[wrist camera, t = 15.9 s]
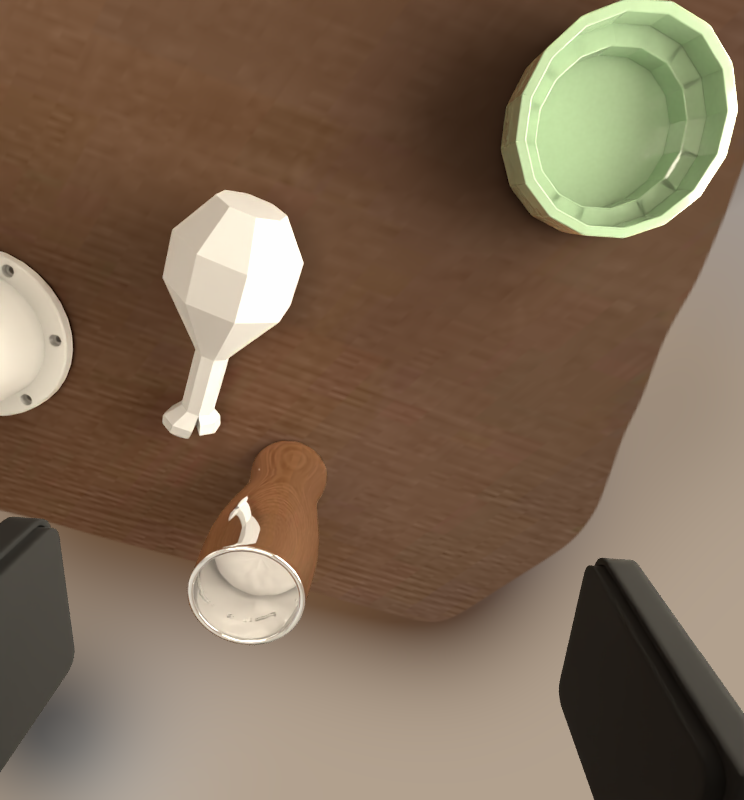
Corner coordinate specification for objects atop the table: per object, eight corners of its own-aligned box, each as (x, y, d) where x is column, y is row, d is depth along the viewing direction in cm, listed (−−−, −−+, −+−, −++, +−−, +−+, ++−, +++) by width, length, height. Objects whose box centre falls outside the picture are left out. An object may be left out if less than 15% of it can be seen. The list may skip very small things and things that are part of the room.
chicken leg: (134, 393, 44) (130, 466, 38) (179, 163, 35) (183, 209, 29) (239, 406, 48) (252, 475, 41) (304, 202, 39) (332, 250, 32)
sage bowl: (488, 226, 39) (503, 229, 34) (515, 20, 35) (536, -10, 30) (665, 239, 39) (704, 243, 34) (712, 34, 35) (764, 7, 30)
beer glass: (336, 439, 44) (313, 550, 30) (329, 517, 46) (304, 654, 32) (248, 430, 44) (182, 537, 30) (245, 508, 46) (182, 641, 32)
